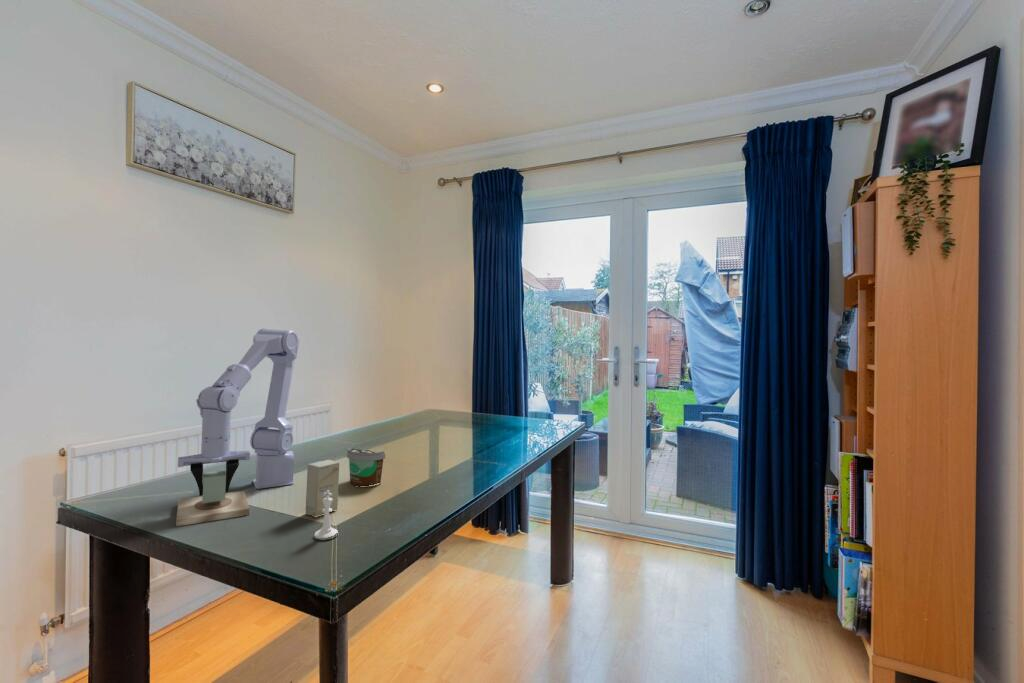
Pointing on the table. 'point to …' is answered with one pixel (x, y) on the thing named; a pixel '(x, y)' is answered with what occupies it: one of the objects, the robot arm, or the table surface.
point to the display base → (211, 509)
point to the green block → (214, 486)
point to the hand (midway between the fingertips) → (213, 492)
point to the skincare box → (321, 486)
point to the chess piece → (326, 519)
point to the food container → (365, 466)
